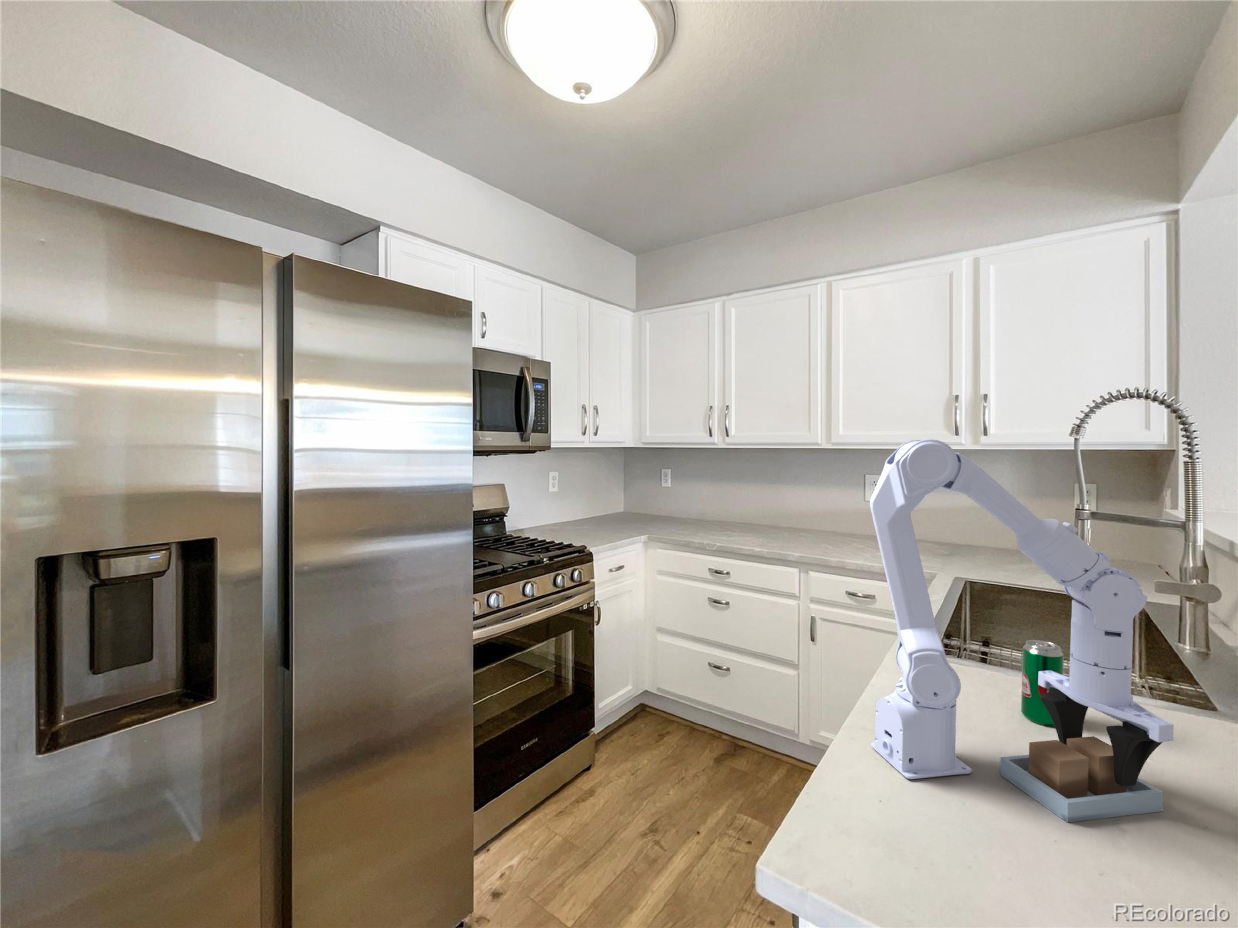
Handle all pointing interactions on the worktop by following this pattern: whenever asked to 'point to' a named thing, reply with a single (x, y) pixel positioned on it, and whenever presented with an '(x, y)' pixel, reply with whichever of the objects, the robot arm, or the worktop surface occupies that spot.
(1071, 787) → the walnut block
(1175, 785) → the worktop surface
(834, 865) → the worktop surface
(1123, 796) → the tray
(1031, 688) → the soda can
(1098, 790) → the walnut block
